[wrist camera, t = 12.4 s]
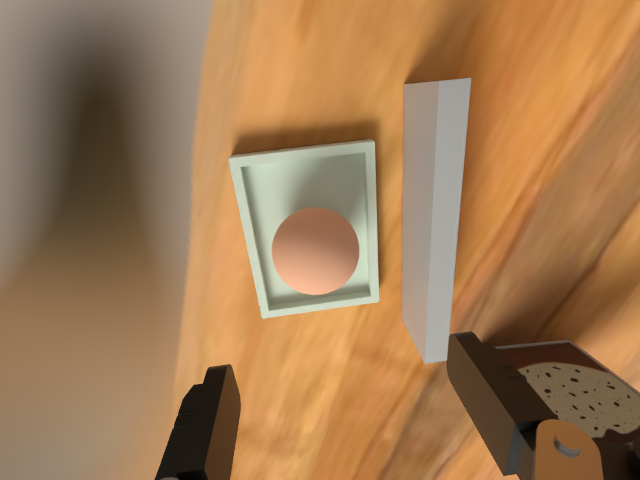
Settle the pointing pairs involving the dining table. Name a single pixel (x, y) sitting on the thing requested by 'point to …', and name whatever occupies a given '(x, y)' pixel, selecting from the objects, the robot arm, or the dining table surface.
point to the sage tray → (304, 192)
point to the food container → (579, 389)
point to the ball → (315, 250)
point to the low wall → (431, 208)
